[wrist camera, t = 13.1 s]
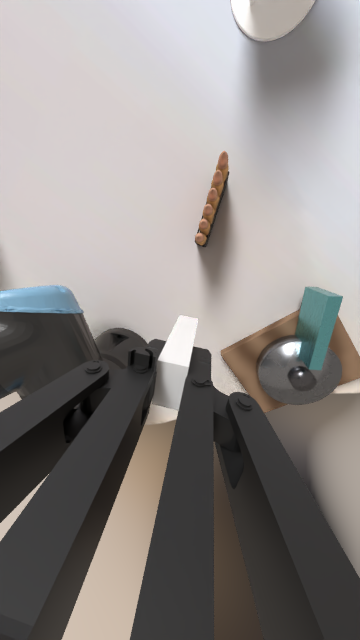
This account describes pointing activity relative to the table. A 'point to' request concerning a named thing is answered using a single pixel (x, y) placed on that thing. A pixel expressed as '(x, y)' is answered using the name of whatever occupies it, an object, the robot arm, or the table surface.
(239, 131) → the table surface
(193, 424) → the robot arm
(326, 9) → the table surface
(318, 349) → the dial
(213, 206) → the ammunition clip
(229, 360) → the stand
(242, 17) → the panda figurine
